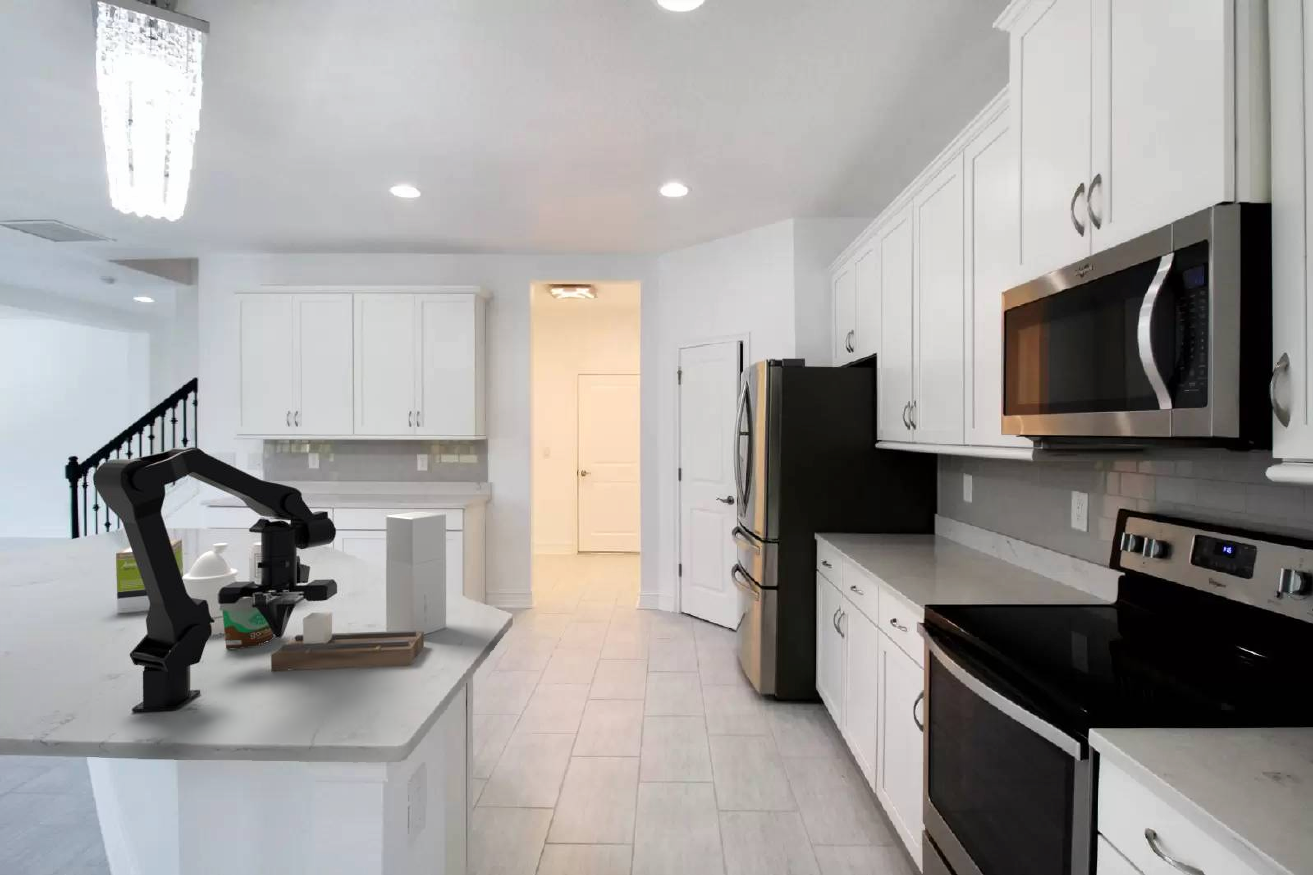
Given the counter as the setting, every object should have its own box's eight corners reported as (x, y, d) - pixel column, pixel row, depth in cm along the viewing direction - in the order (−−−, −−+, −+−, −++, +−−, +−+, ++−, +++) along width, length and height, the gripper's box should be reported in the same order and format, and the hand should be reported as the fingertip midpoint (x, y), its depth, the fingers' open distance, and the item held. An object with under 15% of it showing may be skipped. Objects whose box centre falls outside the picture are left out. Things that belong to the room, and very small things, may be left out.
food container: (246, 653, 122) (245, 601, 121) (219, 651, 123) (219, 600, 123) (294, 633, 134) (294, 586, 134) (270, 631, 135) (269, 584, 135)
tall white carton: (412, 639, 130) (412, 518, 130) (385, 632, 135) (385, 515, 134) (446, 627, 138) (446, 513, 137) (420, 621, 142) (419, 511, 142)
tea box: (136, 598, 161) (136, 540, 160) (184, 594, 165) (184, 538, 165) (115, 614, 147) (115, 551, 147) (168, 609, 151) (168, 548, 151)
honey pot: (234, 615, 146) (233, 538, 146) (254, 626, 138) (253, 544, 138) (165, 628, 136) (165, 546, 136) (183, 641, 128) (182, 553, 128)
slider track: (410, 665, 116) (410, 644, 116) (271, 671, 113) (271, 650, 113) (423, 646, 126) (423, 627, 126) (295, 651, 123) (295, 632, 123)
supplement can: (241, 605, 155) (241, 544, 154) (270, 596, 163) (270, 538, 162) (267, 608, 152) (266, 546, 152) (295, 599, 160) (295, 540, 160)
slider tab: (323, 645, 117) (323, 618, 117) (303, 646, 116) (303, 619, 116) (332, 638, 121) (332, 612, 120) (312, 638, 120) (312, 612, 120)
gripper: (347, 544, 126) (347, 622, 127) (247, 546, 124) (247, 625, 124) (325, 556, 115) (325, 640, 116) (215, 558, 113) (216, 644, 113)
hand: (279, 637), depth 117 cm, fingers closed
